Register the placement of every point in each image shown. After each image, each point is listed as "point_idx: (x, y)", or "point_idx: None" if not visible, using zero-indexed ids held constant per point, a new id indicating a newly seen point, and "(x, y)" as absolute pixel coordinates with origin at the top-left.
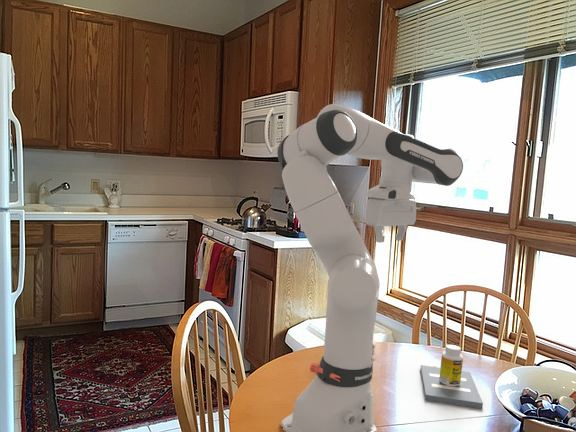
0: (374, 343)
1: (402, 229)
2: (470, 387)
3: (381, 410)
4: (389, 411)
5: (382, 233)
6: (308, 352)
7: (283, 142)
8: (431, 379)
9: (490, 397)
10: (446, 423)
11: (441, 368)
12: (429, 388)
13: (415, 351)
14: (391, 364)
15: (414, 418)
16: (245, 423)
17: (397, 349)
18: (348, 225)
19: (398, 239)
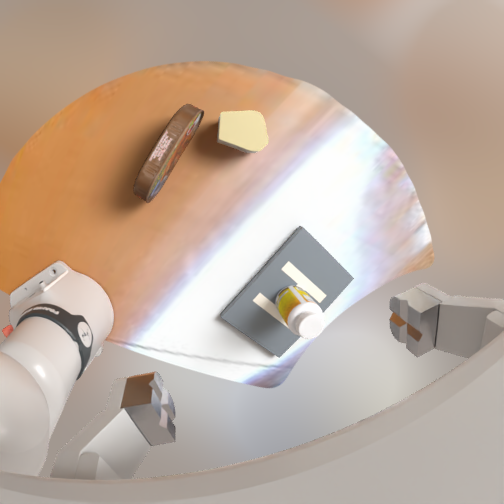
0: (257, 150)
1: (480, 341)
2: None
3: (137, 313)
4: (146, 319)
5: (136, 468)
6: (149, 80)
7: None
8: (273, 280)
9: None
10: (200, 364)
11: (282, 304)
12: (243, 304)
13: (354, 159)
14: (268, 185)
15: (168, 344)
16: None
17: (331, 135)
18: None
19: (395, 324)
